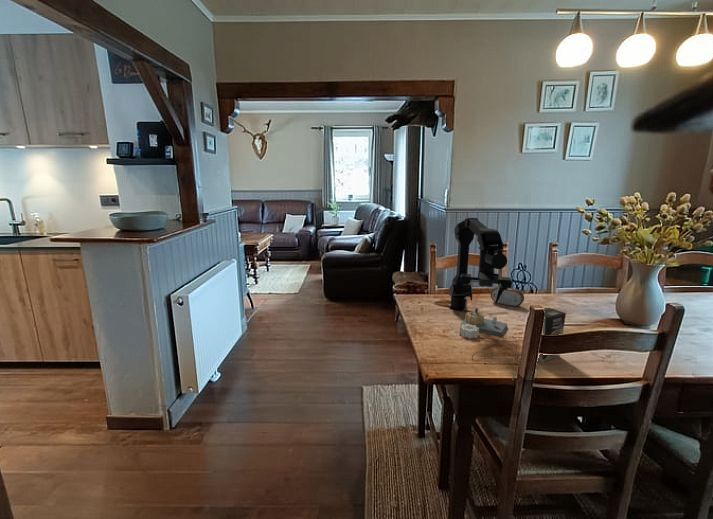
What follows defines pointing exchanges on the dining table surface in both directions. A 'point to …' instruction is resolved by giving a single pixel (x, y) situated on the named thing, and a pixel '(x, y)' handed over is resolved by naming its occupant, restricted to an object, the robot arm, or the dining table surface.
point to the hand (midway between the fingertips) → (483, 301)
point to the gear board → (485, 323)
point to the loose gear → (469, 331)
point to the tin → (508, 297)
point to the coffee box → (552, 328)
